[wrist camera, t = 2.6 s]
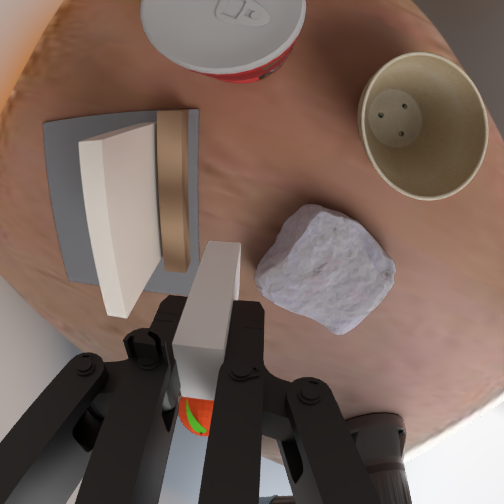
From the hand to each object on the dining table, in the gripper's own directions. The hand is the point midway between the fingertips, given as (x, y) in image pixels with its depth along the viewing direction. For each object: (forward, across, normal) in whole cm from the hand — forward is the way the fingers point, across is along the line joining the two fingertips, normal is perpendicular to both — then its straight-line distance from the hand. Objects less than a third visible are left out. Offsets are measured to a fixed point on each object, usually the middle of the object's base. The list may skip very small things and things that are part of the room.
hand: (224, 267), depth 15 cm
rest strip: (+13, +6, 0) cm, 14 cm away
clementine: (+13, +4, +28) cm, 31 cm away
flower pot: (+13, -12, -8) cm, 19 cm away
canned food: (+13, +1, -12) cm, 18 cm away
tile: (+13, +8, 0) cm, 15 cm away
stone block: (+13, -8, +7) cm, 17 cm away
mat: (+13, +12, +2) cm, 18 cm away
